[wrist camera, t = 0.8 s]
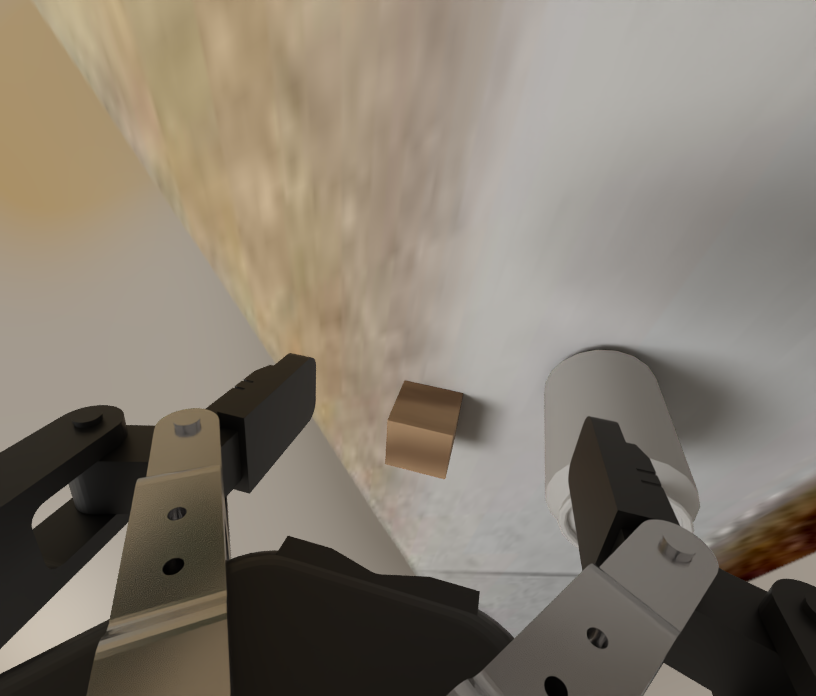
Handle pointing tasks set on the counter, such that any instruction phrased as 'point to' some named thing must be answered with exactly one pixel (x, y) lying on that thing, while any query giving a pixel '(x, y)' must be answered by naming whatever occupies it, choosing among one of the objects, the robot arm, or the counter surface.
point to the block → (422, 429)
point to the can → (621, 402)
